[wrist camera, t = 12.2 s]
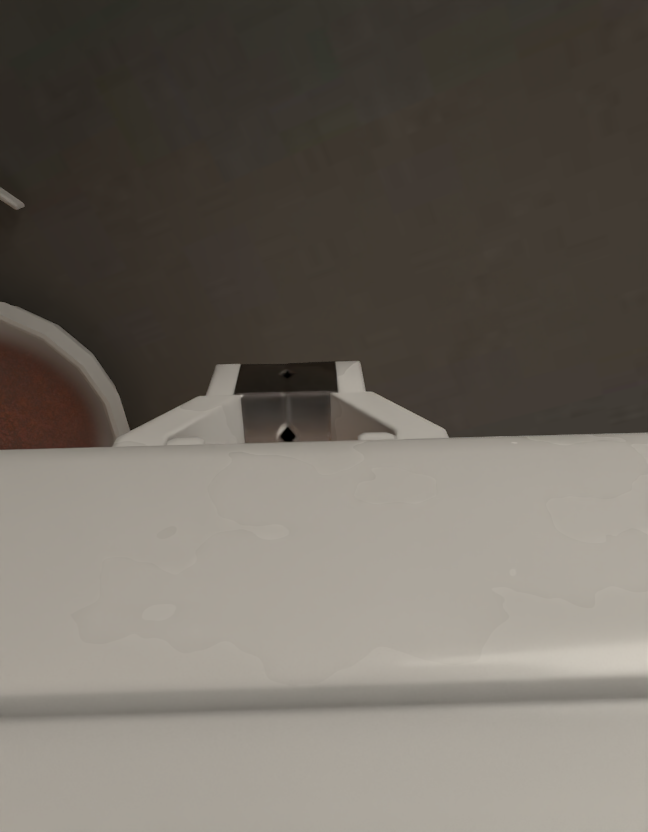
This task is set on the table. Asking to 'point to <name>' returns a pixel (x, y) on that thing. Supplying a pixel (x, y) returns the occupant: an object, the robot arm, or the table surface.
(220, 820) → the robot arm
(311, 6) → the table surface
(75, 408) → the frying pan
